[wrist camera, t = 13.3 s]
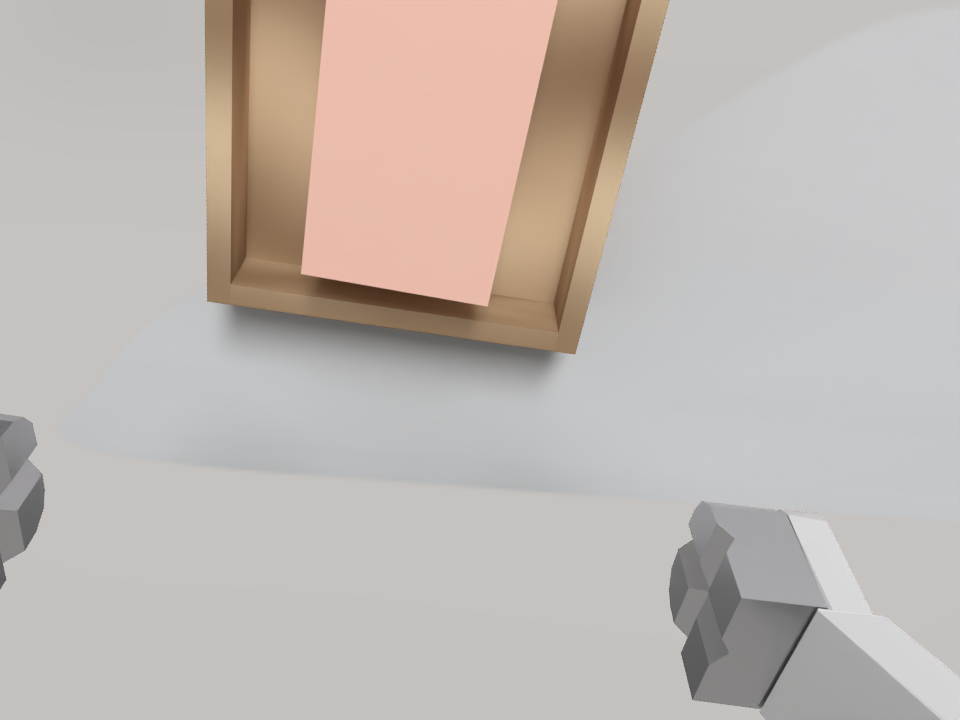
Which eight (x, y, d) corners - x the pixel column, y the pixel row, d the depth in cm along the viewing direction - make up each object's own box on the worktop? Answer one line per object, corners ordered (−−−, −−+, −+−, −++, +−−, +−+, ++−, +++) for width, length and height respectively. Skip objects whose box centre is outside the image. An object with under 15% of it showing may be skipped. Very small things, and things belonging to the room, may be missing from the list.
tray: (237, -467, 16) (200, -515, 14) (735, -355, 17) (772, -385, 15) (231, 261, 24) (207, 301, 22) (566, 311, 25) (574, 354, 23)
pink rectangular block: (377, -282, 17) (354, -309, 14) (591, -230, 17) (614, -245, 14) (324, 217, 22) (300, 273, 20) (486, 246, 23) (487, 306, 20)
